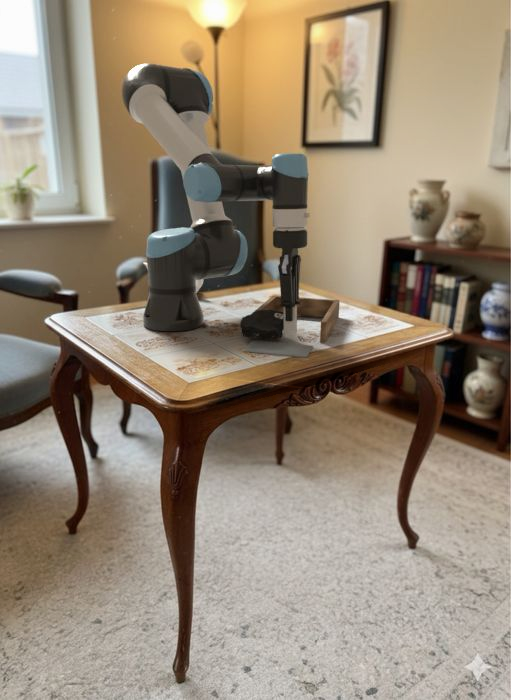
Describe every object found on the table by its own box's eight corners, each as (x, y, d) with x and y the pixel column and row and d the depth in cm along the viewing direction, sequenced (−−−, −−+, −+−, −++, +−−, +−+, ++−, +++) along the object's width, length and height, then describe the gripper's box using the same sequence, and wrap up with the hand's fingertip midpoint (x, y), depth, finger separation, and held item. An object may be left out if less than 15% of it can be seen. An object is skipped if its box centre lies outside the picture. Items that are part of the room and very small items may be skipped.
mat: (243, 351, 117) (243, 350, 117) (253, 341, 124) (253, 340, 124) (306, 357, 113) (306, 356, 113) (313, 346, 121) (313, 345, 121)
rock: (229, 314, 124) (263, 291, 121) (256, 334, 132) (289, 313, 128) (235, 339, 120) (271, 316, 116) (262, 359, 127) (297, 337, 123)
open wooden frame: (248, 336, 128) (248, 316, 127) (272, 313, 150) (273, 295, 149) (325, 343, 123) (326, 322, 122) (338, 318, 145) (339, 300, 144)
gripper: (301, 231, 110) (300, 342, 117) (312, 226, 122) (311, 327, 129) (265, 231, 112) (267, 340, 119) (280, 226, 124) (280, 325, 131)
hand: (290, 333), depth 124 cm, fingers closed, pressing on rock
